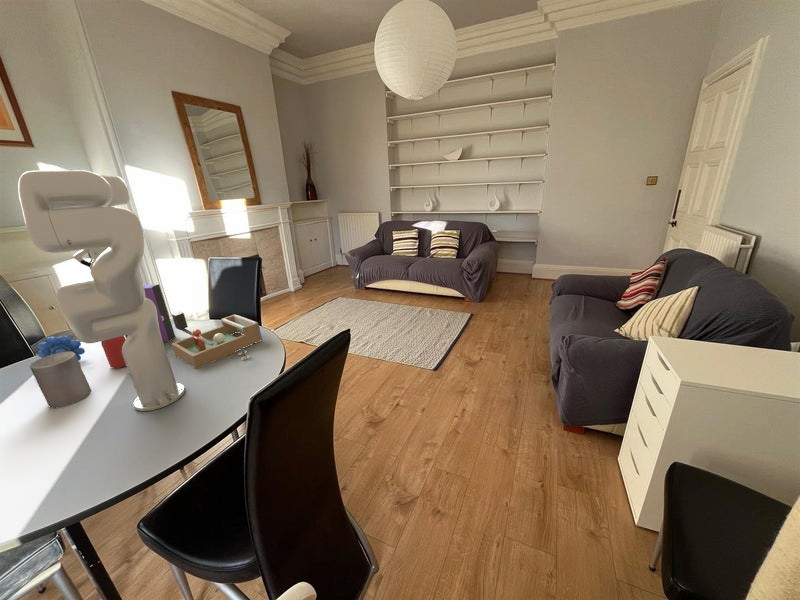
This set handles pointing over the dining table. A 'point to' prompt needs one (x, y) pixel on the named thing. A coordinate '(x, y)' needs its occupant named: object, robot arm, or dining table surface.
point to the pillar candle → (60, 379)
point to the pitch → (218, 350)
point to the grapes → (60, 346)
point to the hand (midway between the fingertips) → (118, 275)
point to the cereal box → (160, 311)
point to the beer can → (114, 351)
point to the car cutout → (243, 353)
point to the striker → (182, 324)
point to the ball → (219, 338)
